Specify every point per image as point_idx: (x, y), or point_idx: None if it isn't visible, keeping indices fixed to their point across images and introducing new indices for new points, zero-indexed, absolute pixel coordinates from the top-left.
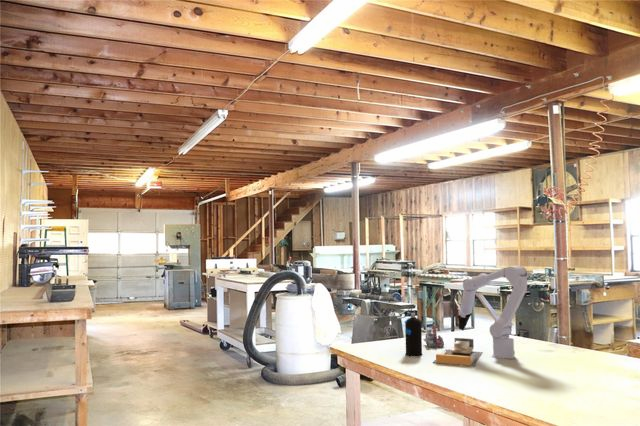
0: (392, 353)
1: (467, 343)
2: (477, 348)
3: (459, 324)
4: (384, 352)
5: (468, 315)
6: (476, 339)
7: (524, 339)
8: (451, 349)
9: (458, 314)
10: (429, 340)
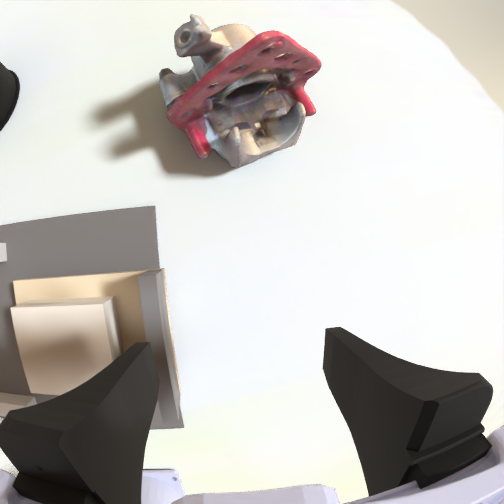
0: (8, 29)
1: (52, 393)
2: (298, 370)
3: (106, 374)
4: (23, 3)
5: (375, 475)
6: (489, 283)
7: (499, 420)
8: (25, 282)
9: (54, 446)
10: (195, 72)
